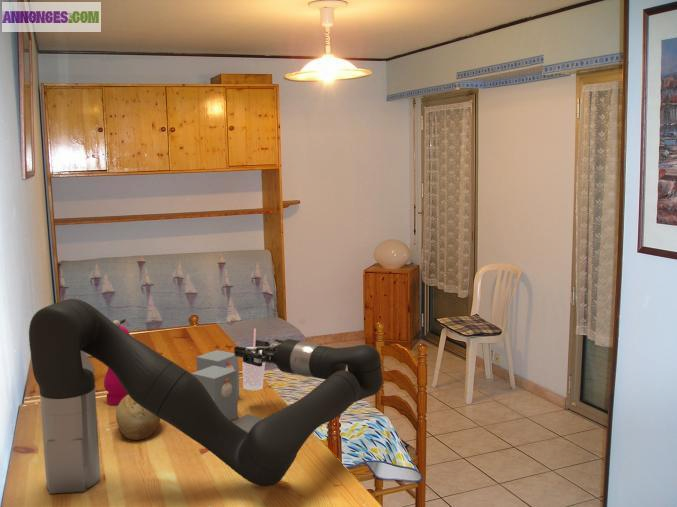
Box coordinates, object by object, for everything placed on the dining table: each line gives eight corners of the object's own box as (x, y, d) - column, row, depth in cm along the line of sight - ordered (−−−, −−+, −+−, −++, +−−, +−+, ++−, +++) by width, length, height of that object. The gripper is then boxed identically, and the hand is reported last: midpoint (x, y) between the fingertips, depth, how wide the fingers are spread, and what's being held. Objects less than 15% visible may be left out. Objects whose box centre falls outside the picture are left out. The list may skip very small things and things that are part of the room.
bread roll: (160, 414, 160) (158, 381, 158) (165, 439, 146) (163, 402, 144) (116, 420, 157) (114, 385, 155) (117, 445, 143) (115, 408, 141)
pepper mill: (126, 406, 165) (122, 324, 162) (98, 404, 166) (94, 323, 163) (141, 396, 172) (137, 317, 169) (114, 394, 173) (110, 316, 170)
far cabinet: (241, 398, 170) (239, 354, 168) (221, 406, 164) (219, 361, 162) (218, 392, 174) (216, 350, 172) (198, 400, 168) (196, 356, 166)
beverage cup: (237, 384, 164) (239, 326, 163) (263, 383, 166) (265, 325, 165) (242, 391, 159) (244, 331, 157) (268, 390, 161) (270, 331, 159)
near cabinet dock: (284, 425, 152) (283, 376, 151) (251, 442, 143) (249, 390, 142) (221, 408, 163) (219, 363, 161) (186, 423, 154) (184, 375, 152)
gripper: (281, 383, 149) (224, 370, 158) (321, 366, 160) (265, 355, 170) (281, 349, 148) (223, 338, 157) (320, 334, 159) (264, 325, 169)
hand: (245, 347), depth 163 cm, fingers closed on beverage cup, 6 cm apart
